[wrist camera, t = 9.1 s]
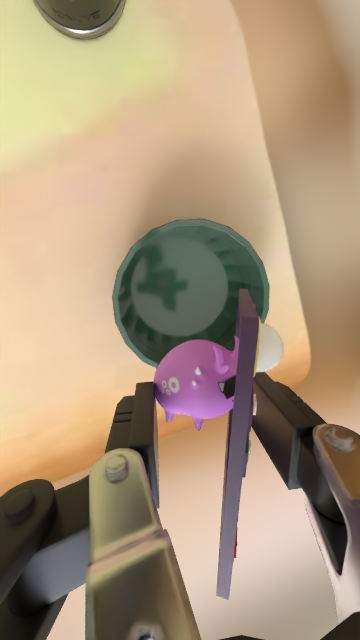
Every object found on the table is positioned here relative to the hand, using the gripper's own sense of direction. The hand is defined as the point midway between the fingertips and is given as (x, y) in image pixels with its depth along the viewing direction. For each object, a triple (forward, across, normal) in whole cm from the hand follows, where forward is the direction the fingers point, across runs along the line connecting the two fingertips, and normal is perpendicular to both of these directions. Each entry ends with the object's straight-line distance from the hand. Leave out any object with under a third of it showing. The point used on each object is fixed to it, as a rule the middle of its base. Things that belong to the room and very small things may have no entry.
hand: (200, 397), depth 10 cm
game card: (+3, 0, 0) cm, 3 cm away
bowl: (+22, -2, -1) cm, 22 cm away
